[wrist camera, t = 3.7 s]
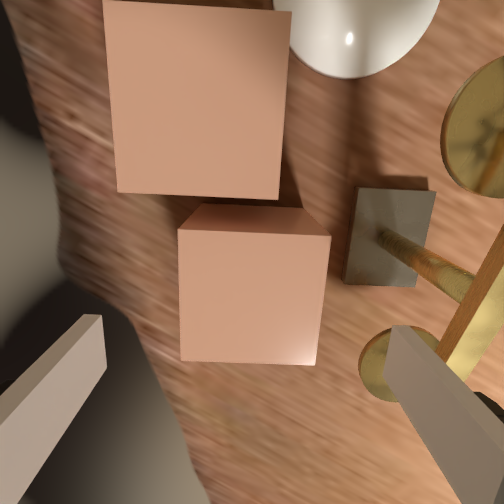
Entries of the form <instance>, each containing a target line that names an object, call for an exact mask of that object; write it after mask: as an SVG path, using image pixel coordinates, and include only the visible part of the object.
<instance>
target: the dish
mask: <svg viewBox="0 0 504 504" xmlns="http://www.w3.org/2000/svg"><path fill="white" fill-rule="evenodd" d="M439 1H440V0H272V3H273V10H276V11H292V18H291V32H290V46H289V49H290V50H291V52H292V53H293V54H294V55H295V56H296V57H297V59H299V60H300V61H301V62H302V63H303V64H304V65H305V66H307V67H308V68H310V69H311V70H313V71H315V72H317V73H319V74H321V75H323V76H327V77H330V78H335V79H342V80H345V79H358V78H363V77H367V76H370V75H373V74H375V73H377V72H379V71H381V70H383V69H385V68H386V67H388V66H390V65H391V64H393V63H394V62H396V61H398V60H399V59H400V58H401V57H403V56H404V55H405V54H406V53H407V52H408V51H409V50H410V49H411V48H412V47H413V46H414V45H415V44H416V43H417V42H418V40H419V39H420V38H421V36H422V35H423V34H424V32H425V31H426V29H427V27H428V26H429V24H430V22H431V20H432V18H433V16H434V14H435V12H436V9H437V7H438V4H439Z"/></svg>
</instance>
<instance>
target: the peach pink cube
mask: <svg viewBox="0 0 504 504" xmlns="http://www.w3.org/2000/svg"><path fill="white" fill-rule="evenodd" d="M331 237H332V236H331V235H330V234H329V233H328V232H327V231H326V230H325V229H324V228H323V227H322V226H321V225H320V224H319V223H318V222H317V221H316V220H315V219H314V218H313V217H312V216H311V215H310V214H309V213H308V212H307V211H306V210H305V209H304V208H292V207H270V206H249V205H228V204H207V203H202V204H201V205H200V206H199V207H198V208H197V209H196V210H195V211H194V212H193V214H192V215H191V216H190V217H189V218H188V219H187V220H186V221H185V222H184V223H183V224H182V225H181V226H180V227H179V228H178V263H179V305H180V347H181V361H204V362H233V363H261V364H290V365H315V361H316V353H317V345H318V337H319V330H320V322H321V314H322V306H323V299H324V291H325V283H326V275H327V268H328V260H329V252H330V244H331Z"/></svg>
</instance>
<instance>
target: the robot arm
mask: <svg viewBox="0 0 504 504" xmlns="http://www.w3.org/2000/svg"><path fill="white" fill-rule="evenodd" d="M106 368H107V364H106V354H105V344H104V334H103V326H102V315H86V314H84V315H83V316H82V317H81V318H80V319H79V320H78V321H77V322H76V323H75V324H74V325H73V326H72V327H71V328H70V329H69V330H68V331H67V332H66V333H65V334H64V335H62V336H61V337H60V338H59V339H58V340H57V341H56V342H55V343H54V344H53V345H52V346H51V347H50V348H49V349H48V350H47V351H46V352H45V353H44V354H43V355H42V356H41V357H40V358H39V359H38V360H37V361H36V362H35V363H34V364H33V365H31V366H30V367H29V369H28V370H26V371H25V372H24V373H23V374H22V375H21V376H20V377H19V378H18V379H17V380H6V381H5V382H3V383H1V384H0V504H17V503H18V501H19V500H20V498H21V497H22V495H23V494H24V492H25V491H26V489H27V488H28V486H29V485H30V483H31V482H32V480H33V479H34V477H35V476H36V474H37V473H38V471H39V470H40V468H41V466H42V465H43V464H44V462H45V460H46V459H47V457H48V456H49V454H50V453H51V451H52V450H53V448H54V447H55V445H56V444H57V442H58V441H59V439H60V438H61V436H62V435H63V433H64V432H65V430H66V429H67V427H68V426H69V424H70V422H71V421H72V420H73V418H74V417H75V415H76V413H77V412H78V411H79V409H80V407H81V406H82V404H83V403H84V402H85V400H86V399H87V397H88V395H89V394H90V392H91V391H92V389H93V388H94V386H95V385H96V383H97V382H98V380H99V379H100V377H101V376H102V374H103V373H104V371H105V370H106ZM382 376H383V378H384V379H385V381H386V382H387V384H388V386H389V387H390V389H391V391H392V392H393V394H394V395H395V397H396V399H397V400H398V402H399V403H400V405H401V407H402V408H403V410H404V411H405V413H406V415H407V416H408V418H409V419H410V421H411V423H412V424H413V426H414V428H415V429H416V431H417V432H418V434H419V436H420V437H421V439H422V440H423V442H424V444H425V445H426V447H427V448H428V450H429V452H430V453H431V455H432V456H433V458H434V460H435V461H436V463H437V465H438V466H439V468H440V469H441V471H442V473H443V474H444V476H445V477H446V479H447V481H448V482H449V484H450V485H451V487H452V489H453V490H454V492H455V494H456V495H457V497H458V498H459V500H460V502H461V503H462V504H504V410H503V409H502V408H501V407H500V406H499V405H498V404H497V403H496V402H494V401H493V400H491V399H490V398H488V397H487V396H485V395H484V394H482V393H481V392H473V391H472V390H471V389H470V388H469V387H468V386H467V385H466V384H465V383H464V382H463V381H462V380H461V379H460V378H459V377H458V376H457V375H456V374H455V373H454V372H453V371H452V370H451V369H450V368H449V367H448V366H447V364H446V363H445V362H444V361H443V360H442V359H441V358H440V357H439V356H438V355H437V354H436V353H435V352H434V351H433V350H432V349H431V348H430V347H429V346H428V345H427V344H426V343H425V342H424V341H423V340H422V339H421V338H420V336H419V335H418V334H417V333H416V332H415V331H414V330H413V329H412V328H411V327H410V326H406V325H392V330H391V335H390V340H389V345H388V350H387V355H386V360H385V365H384V370H383V375H382Z"/></svg>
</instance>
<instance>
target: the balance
mask: <svg viewBox="0 0 504 504" xmlns="http://www.w3.org/2000/svg"><path fill="white" fill-rule="evenodd" d="M440 148H441V155H442V159H443V163H444V165H445V168H446V170H447V171H448V173H449V175H450V176H451V177H452V179H453V180H454V181H455V182H456V183H457V184H458V185H459V186H460V187H462V188H464V189H465V190H467V191H469V192H471V193H473V194H477V195H481V196H486V197H491V198H504V56H502V57H499V58H497V59H495V60H493V61H491V62H489V63H487V64H486V65H484V66H482V67H481V68H480V69H478V70H477V71H476V72H474V73H473V74H472V75H471V76H470V77H469V78H468V79H467V80H466V81H465V82H464V83H463V85H462V86H461V87H460V88H459V90H458V91H457V93H456V94H455V96H454V97H453V99H452V101H451V103H450V104H449V106H448V109H447V111H446V114H445V116H444V120H443V123H442V128H441V135H440ZM435 196H436V191H431V190H415V189H394V188H374V187H355V189H354V195H353V202H352V209H351V216H350V223H349V230H348V237H347V244H346V251H345V257H344V264H343V271H342V278H341V280H342V281H343V283H344V284H347V285H372V286H396V287H415V285H416V281H417V276H418V274H419V275H420V276H422V277H423V278H425V279H426V280H427V281H429V282H430V283H432V284H433V285H434V286H436V287H437V288H439V289H440V290H441V291H443V292H444V293H446V294H447V295H448V296H450V297H451V298H453V299H454V300H455V301H457V302H458V303H460V306H459V307H458V309H457V311H456V313H455V315H454V317H453V319H452V320H451V322H450V324H449V326H448V328H447V330H446V331H445V333H444V335H443V337H442V339H441V341H440V342H439V341H438V340H437V339H436V338H435V337H434V336H433V335H432V334H431V333H430V332H428V331H426V330H425V329H422V328H419V327H415V326H410V327H411V328H412V329H413V330H414V331H415V332H416V333H417V334H418V335H419V336H420V338H421V339H422V340H423V341H424V342H425V343H426V344H427V345H428V346H429V347H430V348H431V349H432V350H433V351H434V352H435V353H436V354H437V355H438V356H439V357H440V358H441V359H442V360H443V361H444V362H445V363H446V364H447V366H448V367H449V368H450V369H451V370H452V371H453V372H454V373H455V374H456V375H457V376H458V377H459V378H460V379H461V380H462V381H463V382H465V380H466V379H467V377H468V376H469V374H470V373H471V372H472V370H473V369H474V367H475V366H476V364H477V363H478V361H479V360H480V358H481V357H482V355H483V354H484V352H485V351H486V349H487V348H488V346H489V345H490V343H491V342H492V340H493V339H494V337H495V336H496V334H497V333H498V331H499V330H500V328H501V327H502V325H503V324H504V224H503V226H502V228H501V230H500V232H499V234H498V235H497V237H496V239H495V241H494V243H493V245H492V247H491V248H490V250H489V252H488V254H487V256H486V258H485V259H484V261H483V263H482V265H481V267H480V269H479V271H478V272H477V274H476V275H474V274H472V273H470V272H468V271H466V270H465V269H463V268H461V267H459V266H457V265H455V264H453V263H452V262H450V261H448V260H446V259H444V258H442V257H441V256H439V255H437V254H435V253H433V252H431V251H429V250H428V249H426V248H424V245H425V240H426V236H427V231H428V227H429V222H430V218H431V214H432V209H433V205H434V200H435ZM391 330H392V328H390V329H387V330H385V331H382V332H380V333H379V334H377V335H376V336H375V337H373V338H372V339H371V340H370V341H369V342H368V343H367V344H366V346H365V347H364V349H363V350H362V352H361V355H360V358H359V362H358V370H359V375H360V377H361V379H362V381H363V383H364V385H365V387H366V388H367V390H368V391H369V392H370V393H371V394H372V395H374V396H375V397H377V398H379V399H381V400H385V401H389V402H398V400H397V399H396V397H395V395H394V394H393V392H392V391H391V389H390V387H389V386H388V384H387V382H386V381H385V379H384V378H383V376H382V375H383V370H384V365H385V360H386V355H387V350H388V345H389V340H390V335H391Z"/></svg>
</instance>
